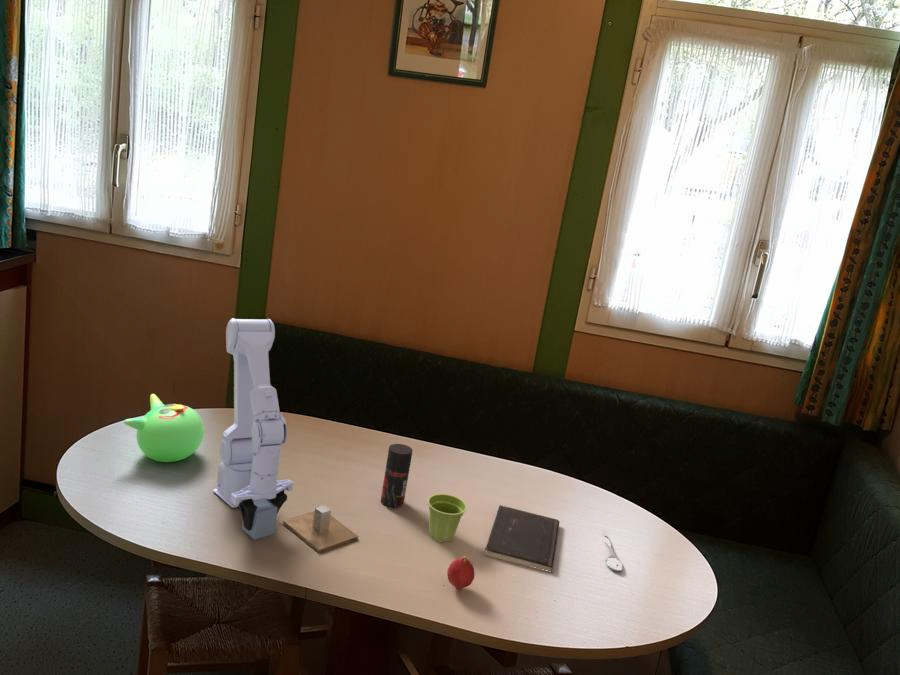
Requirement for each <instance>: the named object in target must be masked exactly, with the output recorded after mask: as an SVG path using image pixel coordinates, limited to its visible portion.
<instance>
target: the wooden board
mask: <svg viewBox="0 0 900 675" xmlns="http://www.w3.org/2000/svg"><path fill="white" fill-rule="evenodd" d="M331 514H332V509H331V508H329V507H328V506H326V505H325V504H324V505H320V506H317V507H315V508H314V510H313V511H310V512H308V513H304V514H300V515H297V516H294V517H290V518H287V519H284V520H282V524H283V525H284V526H285V527H286V528H288V529H289V530H290V531H291V532H292V533H294V534H295V535H296V536H297V537H298V538H300V539H301V540H302V541H303V542H305V543H306V544H307V545H309V546H310V547H311V548H312V549H313V550H314V551H316V552H317V553H318V554H321V553H323V552H325V551H328V550H332V549H334V548H337V547H341V546H343V545H346V544H348V543H349V544H350V543H351V542H354V541H356V540H359V536H358V534H356V533H355V532H353V531H352V530H351V529H349V528H348V527H347V526H346V525H344V524H343V523H342V522H340V521H339V520H338V519H336V518H335V517H333V516H332V515H331Z"/></svg>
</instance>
